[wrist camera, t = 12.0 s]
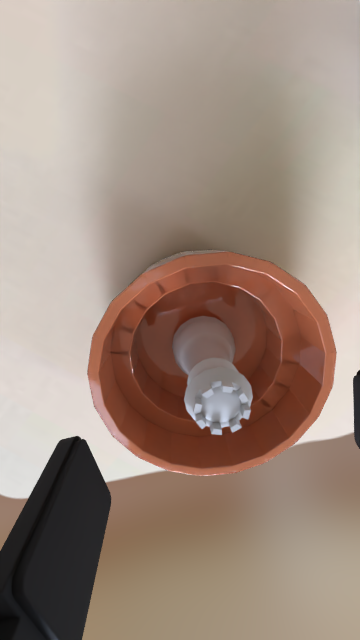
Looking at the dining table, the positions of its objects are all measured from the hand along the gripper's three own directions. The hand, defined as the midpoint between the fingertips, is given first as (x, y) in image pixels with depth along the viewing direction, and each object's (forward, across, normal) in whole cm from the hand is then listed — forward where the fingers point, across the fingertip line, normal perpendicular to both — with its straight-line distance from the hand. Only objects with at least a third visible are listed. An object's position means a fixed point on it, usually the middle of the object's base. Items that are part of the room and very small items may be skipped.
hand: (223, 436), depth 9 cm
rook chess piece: (+10, 0, +1) cm, 10 cm away
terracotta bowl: (+11, 0, +1) cm, 11 cm away
